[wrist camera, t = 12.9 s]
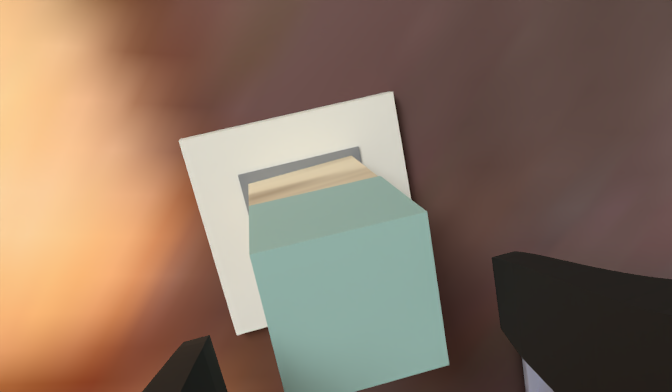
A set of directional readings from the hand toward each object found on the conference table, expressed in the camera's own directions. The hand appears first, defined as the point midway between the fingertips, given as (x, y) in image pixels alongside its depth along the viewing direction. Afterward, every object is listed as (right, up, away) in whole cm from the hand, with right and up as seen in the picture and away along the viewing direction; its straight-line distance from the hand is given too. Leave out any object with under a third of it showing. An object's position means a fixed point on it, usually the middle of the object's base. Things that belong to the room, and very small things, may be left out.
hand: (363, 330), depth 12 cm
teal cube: (-1, +1, +5) cm, 5 cm away
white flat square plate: (-2, +3, +10) cm, 10 cm away
